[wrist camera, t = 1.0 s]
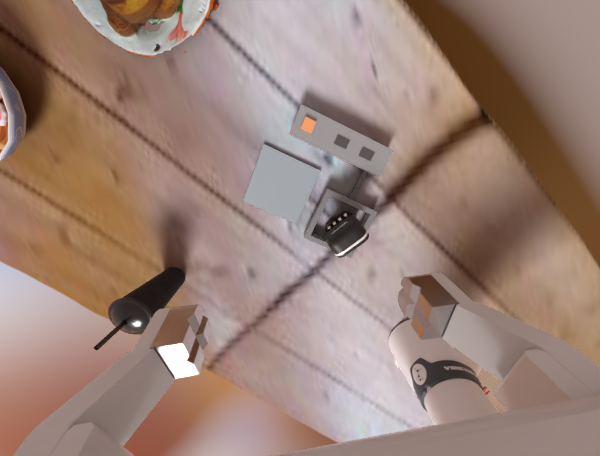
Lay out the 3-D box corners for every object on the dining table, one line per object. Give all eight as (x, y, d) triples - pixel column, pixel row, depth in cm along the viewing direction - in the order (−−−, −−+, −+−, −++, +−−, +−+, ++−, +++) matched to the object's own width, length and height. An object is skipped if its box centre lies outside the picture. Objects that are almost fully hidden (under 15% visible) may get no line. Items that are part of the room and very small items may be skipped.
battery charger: (346, 204, 44) (359, 219, 33) (356, 218, 45) (373, 237, 34) (319, 225, 45) (324, 246, 34) (330, 237, 46) (338, 262, 35)
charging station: (402, 158, 41) (411, 158, 37) (348, 252, 47) (352, 260, 44) (301, 108, 38) (301, 103, 35) (259, 214, 45) (255, 219, 41)
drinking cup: (191, 264, 49) (119, 332, 30) (190, 292, 51) (124, 370, 32) (158, 259, 49) (64, 323, 30) (159, 287, 51) (73, 363, 32)
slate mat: (320, 170, 42) (320, 170, 41) (296, 223, 45) (296, 224, 45) (264, 144, 40) (263, 144, 40) (243, 200, 44) (243, 201, 43)
